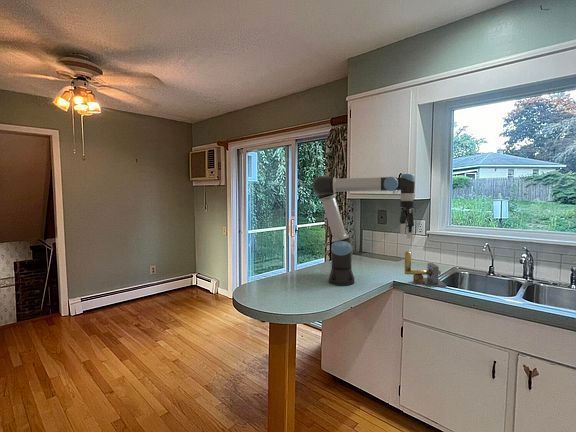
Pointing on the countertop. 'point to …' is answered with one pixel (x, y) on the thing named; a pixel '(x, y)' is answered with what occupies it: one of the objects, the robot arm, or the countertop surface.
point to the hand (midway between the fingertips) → (405, 236)
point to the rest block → (418, 279)
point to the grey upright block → (433, 277)
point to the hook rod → (414, 272)
